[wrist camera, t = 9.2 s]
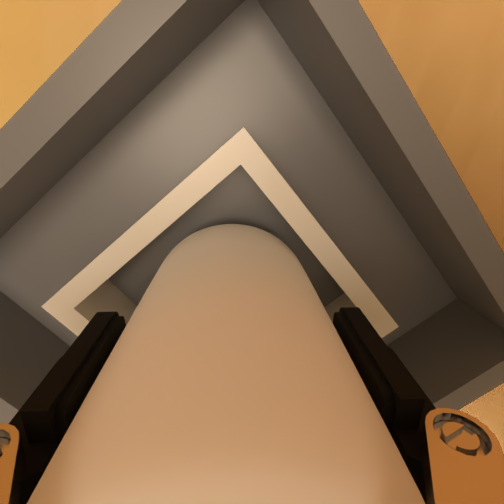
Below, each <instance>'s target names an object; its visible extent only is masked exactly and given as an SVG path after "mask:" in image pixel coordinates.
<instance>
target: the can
mask: <svg viewBox="0 0 504 504" xmlns="http://www.w3.org/2000/svg"><path fill="white" fill-rule="evenodd" d="M27 504H425V502H424V500H423V498H422V496H421V493H420V491H419V489H418V487H417V485H416V484H415V482H414V480H413V478H412V476H411V474H410V472H409V470H408V468H407V466H406V464H405V462H404V460H403V458H402V456H401V454H400V452H399V450H398V448H397V446H396V444H395V442H394V440H393V439H392V437H391V435H390V433H389V431H388V429H387V427H386V425H385V423H384V421H383V419H382V417H381V415H380V413H379V411H378V410H377V408H376V406H375V404H374V402H373V400H372V398H371V396H370V394H369V392H368V390H367V388H366V386H365V384H364V383H363V381H362V379H361V377H360V375H359V373H358V371H357V369H356V367H355V365H354V363H353V361H352V360H351V358H350V356H349V354H348V352H347V350H346V348H345V346H344V344H343V342H342V340H341V338H340V337H339V335H338V333H337V331H336V329H335V327H334V325H333V323H332V321H331V319H330V317H329V316H328V314H327V312H326V310H325V308H324V306H323V304H322V302H321V300H320V299H319V297H318V295H317V293H316V291H315V289H314V287H313V285H312V283H311V282H310V280H309V278H308V276H307V274H306V272H305V270H304V269H303V267H302V265H301V263H300V262H299V260H298V259H297V257H296V256H295V254H294V253H293V252H292V251H291V249H290V248H289V247H288V246H287V245H286V244H285V243H283V242H282V241H281V240H280V239H278V238H277V237H275V236H274V235H272V234H270V233H268V232H266V231H264V230H262V229H259V228H256V227H252V226H248V225H242V224H222V225H215V226H211V227H207V228H204V229H202V230H199V231H197V232H195V233H193V234H191V235H189V236H188V237H186V238H185V239H183V240H182V241H181V242H180V243H178V244H177V245H176V246H175V247H174V248H173V249H172V251H171V252H170V253H169V254H168V255H167V257H166V258H165V260H164V261H163V263H162V264H161V266H160V268H159V269H158V271H157V273H156V275H155V276H154V278H153V280H152V281H151V283H150V285H149V287H148V288H147V290H146V292H145V294H144V295H143V297H142V299H141V301H140V302H139V304H138V306H137V308H136V309H135V311H134V313H133V315H132V316H131V318H130V320H129V322H128V323H127V325H126V327H125V329H124V331H123V332H122V334H121V336H120V338H119V339H118V341H117V343H116V345H115V346H114V348H113V350H112V352H111V354H110V355H109V357H108V359H107V361H106V362H105V364H104V366H103V368H102V369H101V371H100V373H99V375H98V377H97V378H96V380H95V382H94V384H93V385H92V387H91V389H90V391H89V393H88V394H87V396H86V398H85V400H84V402H83V403H82V405H81V407H80V409H79V410H78V412H77V414H76V416H75V418H74V419H73V421H72V423H71V425H70V427H69V428H68V430H67V432H66V434H65V435H64V437H63V439H62V441H61V443H60V444H59V446H58V448H57V450H56V452H55V453H54V455H53V457H52V459H51V461H50V463H49V464H48V466H47V468H46V470H45V472H44V473H43V475H42V477H41V479H40V481H39V482H38V484H37V486H36V488H35V490H34V491H33V493H32V495H31V497H30V499H29V501H28V502H27Z"/></svg>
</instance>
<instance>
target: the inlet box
mask: <svg viewBox="0 0 504 504" xmlns="http://www.w3.org/2000/svg"><path fill="white" fill-rule="evenodd" d="M222 224H242V225H248V226H252V227H256V228H259V229H262V230H264V231H266V232H268V233H270V234H272V235H274V236H275V237H277V238H278V239H280V240H281V241H282V242H283V243H285V244H286V245H287V246H288V247H289V248H290V249H291V251H292V252H293V253H294V254H295V256H296V257H297V259H298V260H299V262H300V263H301V265H302V267H303V269H304V270H305V272H306V274H307V276H308V278H309V280H310V282H311V283H312V285H313V287H314V289H315V291H316V293H317V295H318V297H319V299H320V300H321V302H322V304H323V306H324V308H325V310H326V312H327V314H328V316H329V317H330V319H331V321H332V323H333V315H334V313H335V312H339V310H340V308H341V307H359V308H360V309H361V311H362V312H363V314H364V315H365V316H366V318H367V319H368V320H369V322H370V323H371V325H372V326H373V327H374V329H375V330H376V331H377V333H378V334H379V336H380V337H381V338H382V340H383V341H384V342H385V344H386V345H387V347H390V348H391V349H392V350H393V351H394V352H395V353H396V355H397V356H398V357H399V359H400V360H401V361H402V363H403V364H404V366H405V367H406V368H407V370H408V371H409V372H410V374H411V375H412V376H413V378H414V379H415V380H416V382H417V383H418V384H419V386H420V387H421V388H422V390H423V391H424V393H425V394H426V395H427V397H428V398H429V399H430V401H431V402H432V403H433V405H434V406H435V407H436V408H449V409H456V410H459V409H461V408H462V407H464V406H466V405H467V404H469V403H471V402H472V401H474V400H476V399H477V398H479V397H481V396H482V395H484V394H486V393H487V392H489V391H491V390H492V389H494V388H496V387H497V386H499V385H501V384H502V383H504V253H503V251H502V249H501V248H500V246H499V244H498V242H497V241H496V239H495V237H494V235H493V234H492V232H491V230H490V229H489V227H488V225H487V223H486V222H485V220H484V218H483V216H482V215H481V213H480V211H479V209H478V208H477V206H476V204H475V202H474V201H473V199H472V197H471V196H470V194H469V192H468V190H467V189H466V187H465V185H464V183H463V182H462V180H461V178H460V176H459V175H458V173H457V171H456V170H455V168H454V166H453V164H452V163H451V161H450V159H449V157H448V156H447V154H446V152H445V150H444V149H443V147H442V145H441V144H440V142H439V140H438V138H437V137H436V135H435V133H434V131H433V130H432V128H431V126H430V124H429V123H428V121H427V119H426V117H425V116H424V114H423V112H422V111H421V109H420V107H419V105H418V104H417V102H416V100H415V98H414V97H413V95H412V93H411V91H410V90H409V88H408V86H407V85H406V83H405V81H404V79H403V78H402V76H401V74H400V72H399V71H398V69H397V67H396V65H395V64H394V62H393V60H392V59H391V57H390V55H389V53H388V52H387V50H386V48H385V46H384V45H383V43H382V41H381V39H380V38H379V36H378V34H377V32H376V31H375V29H374V27H373V26H372V24H371V22H370V20H369V19H368V17H367V15H366V13H365V12H364V10H363V8H362V6H361V5H360V3H359V1H358V0H122V1H121V2H120V3H119V4H118V5H117V6H116V7H115V8H114V9H113V10H112V12H111V13H110V14H109V15H108V16H107V17H106V18H105V19H104V20H103V21H102V22H101V23H100V24H99V25H98V26H97V27H96V29H95V30H94V31H93V32H92V33H91V34H90V35H89V36H88V37H87V38H86V39H85V40H84V41H83V42H82V43H81V44H80V45H79V47H78V48H77V49H76V50H75V51H74V52H73V53H72V54H71V55H70V56H69V57H68V58H67V59H66V60H65V61H64V62H63V64H62V65H61V66H60V67H59V68H58V69H57V70H56V71H55V72H54V73H53V74H52V75H51V76H50V77H49V78H48V79H47V80H46V82H45V83H44V84H43V85H42V86H41V87H40V88H39V89H38V90H37V91H36V92H35V93H34V94H33V95H32V96H31V97H30V99H29V100H28V101H27V102H26V103H25V104H24V105H23V106H22V107H21V108H20V109H19V110H18V111H17V112H16V113H15V114H14V115H13V117H12V118H11V119H10V120H9V121H8V122H7V123H6V124H5V125H4V126H3V127H2V128H1V129H0V423H7V424H9V422H10V421H11V420H12V419H13V417H14V416H15V415H16V414H17V412H18V411H19V410H20V408H21V407H22V406H23V405H24V403H25V402H26V401H27V399H28V398H29V397H30V396H31V394H32V393H33V392H34V390H35V389H36V388H37V387H38V385H39V384H40V383H41V381H42V380H43V379H44V378H45V376H46V375H47V374H48V373H49V371H50V370H51V369H52V367H53V366H54V365H55V364H56V362H57V361H58V360H59V359H60V358H61V357H62V356H63V355H64V354H65V353H66V351H67V350H68V349H69V348H70V346H71V345H72V344H73V342H74V341H75V340H76V338H77V337H78V336H79V335H80V333H81V332H82V331H83V329H84V328H85V327H86V326H87V324H88V323H89V322H90V320H91V319H92V318H93V316H94V315H95V314H96V313H97V312H114V311H117V312H118V314H119V316H124V318H125V324H126V325H127V323H128V322H129V320H130V318H131V316H132V315H133V313H134V311H135V309H136V308H137V306H138V304H139V302H140V301H141V299H142V297H143V295H144V294H145V292H146V290H147V288H148V287H149V285H150V283H151V281H152V280H153V278H154V276H155V275H156V273H157V271H158V269H159V268H160V266H161V264H162V263H163V261H164V260H165V258H166V257H167V255H168V254H169V253H170V252H171V251H172V249H173V248H174V247H175V246H176V245H177V244H178V243H180V242H181V241H182V240H183V239H185V238H186V237H188V236H189V235H191V234H193V233H195V232H197V231H199V230H202V229H204V228H207V227H211V226H215V225H222Z"/></svg>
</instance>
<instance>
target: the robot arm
mask: <svg viewBox="0 0 504 504" xmlns="http://www.w3.org/2000/svg"><path fill="white" fill-rule="evenodd" d="M333 325H334V327H335V329H336V331H337V333H338V335H339V337H340V338H341V340H342V342H343V344H344V346H345V348H346V350H347V352H348V354H349V356H350V358H351V360H352V361H353V363H354V365H355V367H356V369H357V371H358V373H359V375H360V377H361V379H362V381H363V383H364V384H365V386H366V388H367V390H368V392H369V394H370V396H371V398H372V400H373V402H374V404H375V406H376V408H377V410H378V411H379V413H380V415H381V417H382V419H383V421H384V423H385V425H386V427H387V429H388V431H389V433H390V435H391V437H392V439H393V440H394V442H395V444H396V446H397V448H398V450H399V452H400V454H401V456H402V458H403V460H404V462H405V464H406V466H407V468H408V470H409V472H410V474H411V476H412V478H413V480H414V482H415V484H416V485H417V487H418V489H419V491H420V493H421V496H422V498H423V500H424V502H425V504H504V454H503V451H502V449H501V446H500V443H499V441H498V440H497V438H496V436H495V435H494V433H493V432H492V431H491V430H490V429H489V428H488V427H487V426H486V425H484V424H483V423H482V422H480V421H479V420H478V419H476V418H474V417H472V416H471V415H469V414H467V413H464V412H461V411H458V410H456V409H449V408H436V407H435V406H434V405H433V403H432V402H431V401H430V399H429V398H428V397H427V395H426V394H425V393H424V391H423V390H422V388H421V387H420V386H419V384H418V383H417V382H416V380H415V379H414V378H413V376H412V375H411V374H410V372H409V371H408V370H407V368H406V367H405V366H404V364H403V363H402V361H401V360H400V359H399V357H398V356H397V355H396V353H395V352H394V351H393V350H392V349H391V348H390V347H387V345H386V344H385V342H384V341H383V340H382V338H381V337H380V336H379V334H378V333H377V331H376V330H375V329H374V327H373V326H372V325H371V323H370V322H369V320H368V319H367V318H366V316H365V315H364V314H363V312H362V311H361V309H360V308H359V307H341V308H340V310H339V312H335V313H334V315H333ZM125 327H126V324H125V318H124V316H119V314H118V312H117V311H114V312H97V313H96V314H95V315H94V316H93V318H92V319H91V320H90V322H89V323H88V324H87V326H86V327H85V328H84V329H83V331H82V332H81V333H80V335H79V336H78V337H77V338H76V340H75V341H74V342H73V344H72V345H71V346H70V348H69V349H68V350H67V351H66V353H65V354H64V355H63V356H62V357H61V358H60V359H59V360H58V361H57V362H56V364H55V365H54V366H53V367H52V369H51V370H50V371H49V373H48V374H47V375H46V376H45V378H44V379H43V380H42V381H41V383H40V384H39V385H38V387H37V388H36V389H35V390H34V392H33V393H32V394H31V396H30V397H29V398H28V399H27V401H26V402H25V403H24V405H23V406H22V407H21V408H20V410H19V411H18V412H17V414H16V415H15V416H14V417H13V419H12V420H11V421H10V422H9V424H7V423H0V504H27V502H28V501H29V499H30V497H31V495H32V493H33V491H34V490H35V488H36V486H37V484H38V482H39V481H40V479H41V477H42V475H43V473H44V472H45V470H46V468H47V466H48V464H49V463H50V461H51V459H52V457H53V455H54V453H55V452H56V450H57V448H58V446H59V444H60V443H61V441H62V439H63V437H64V435H65V434H66V432H67V430H68V428H69V427H70V425H71V423H72V421H73V419H74V418H75V416H76V414H77V412H78V410H79V409H80V407H81V405H82V403H83V402H84V400H85V398H86V396H87V394H88V393H89V391H90V389H91V387H92V385H93V384H94V382H95V380H96V378H97V377H98V375H99V373H100V371H101V369H102V368H103V366H104V364H105V362H106V361H107V359H108V357H109V355H110V354H111V352H112V350H113V348H114V346H115V345H116V343H117V341H118V339H119V338H120V336H121V334H122V332H123V331H124V329H125Z"/></svg>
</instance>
